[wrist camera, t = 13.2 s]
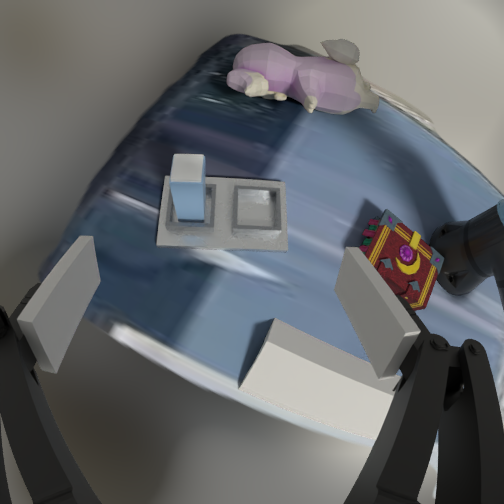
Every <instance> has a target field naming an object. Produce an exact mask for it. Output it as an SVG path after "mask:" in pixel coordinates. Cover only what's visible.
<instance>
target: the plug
mask: <svg viewBox="0 0 504 504" xmlns="http://www.w3.org/2000/svg"><path fill="white" fill-rule="evenodd" d="M169 185H170V189H171V193H172V198H173V202H174V206H175V210H176V214H177V218H178V221H185V222H204V216H205V202H206V185H205V156H204V155H199V154H174V155H173V160H172V167H171V173H170V180H169Z"/></svg>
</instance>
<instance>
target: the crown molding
mask: <svg viewBox="0 0 504 504" xmlns="http://www.w3.org/2000/svg"><path fill="white" fill-rule="evenodd" d="M400 378H401V376H398V375H395V376H394V378H389V379H384V380H379V379H378V377H377V375H376V373H375V371H374V369H373V367H372V364H371V363H369V362H366V361H364V360H362V359H360V358H358V357H355V356H353V355H351V354H349V353H347V352H345V351H342V350H340V349H338V348H336V347H334V346H332V345H330V344H327V343H325V342H323V341H321V340H319V339H317V338H315V337H313V336H311V335H309V334H307V333H304V332H302V331H300V330H298V329H296V328H294V327H292V326H290V325H288V324H286V323H284V322H282V321H280V320H278V319H276V318H274V321H273V323H272V325H271V327H270V329H269V331H268V333H267V335H266V337H265V341H264V343H263V345H262V347H261V349H260V351H259V353H258V355H257V357H256V359H255V361H254V363H253V364H252V366H251V368H250V369H249V371H248V372H247V374H246V376H245V378H244V379H243V381H242V383H241V385H240V387H239V390H241V391H243V392H246V393H248V394H250V395H252V396H254V397H257V398H259V399H261V400H264V401H266V402H268V403H271V404H273V405H275V406H278V407H280V408H283V409H285V410H288V411H290V412H293V413H295V414H298V415H301V416H303V417H306V418H308V419H311V420H314V421H317V422H320V423H322V424H325V425H328V426H331V427H334V428H337V429H340V430H343V431H346V432H349V433H353V434H356V435H359V436H363V437H366V438H370V439H373V440H376V439H377V437H378V435H379V432H380V430H381V428H382V425H383V423H384V420H385V418H386V415H387V413H388V410H389V408H390V405H391V402H392V400H393V397H394V394H395V391H396V390H395V391H392V390H393V389H394V387H395V386H396V384H397V383H398V381H399V380H400Z"/></svg>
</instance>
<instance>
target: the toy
mask: <svg viewBox="0 0 504 504" xmlns="http://www.w3.org/2000/svg"><path fill="white" fill-rule="evenodd" d="M321 44H322V46H323V47H324V48H325V50H326V51H327V53H328V54H329V56H330V57H297V56H294V55H292V54H291V53H290V52H288V51H287V50H285V49H283V48H281V47H280V46H277V45H275V44H272V43H262V44H253V45H250V46H248V47H245V48H243V49H242V50H241V51H240V52H239V53H238V54H237V55H236V57H235V59H234V63H233V70H232V71H231V72H229V73H228V75H227V84H228V86H229V87H231V88H233V89H234V90H237V91H239V92H242V93H245V94H246V95H247V96H250V97H254V96H262V97H263V98H265V99H276V100H286V98H287V97H291V98H293V99H295V100H297V101H299V102H301V103H302V105H303V106H304V108H305V109H306V110H307V111H308V112H309V113H312V112H313V110H314V109H316V110H319V111H323V112H326V113H330V114H342V115H344V114H346V113H349V112H352V111H353V110H355V109H358V108H365V109H371V111H372V112H373V113H375V112H376V110H377V108H378V105H379V96H378V95H376V94H374V93H372V92H370V84H369V83H367V82H365V81H363V79H362V76H361V73H360V70H359V68H358V67H357V66H356V65H355V63H357V62H358V61H359V49H358V47H357V46H356V45H355V44H354V43H352V42H350V41H347V40H345V39H339V40H327V41H323V42H321Z"/></svg>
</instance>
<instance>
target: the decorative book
mask: <svg viewBox="0 0 504 504" xmlns="http://www.w3.org/2000/svg"><path fill="white" fill-rule="evenodd" d="M368 224H369V225H370V227H369V229H368V230H367V229H365V230H364V232H363V234H362V235H364V236H367V238H365V240H364V242H363V245H362V246H360V247H359V249H360V250H361V251H362V253H363V254H364V255H365V256H366V258H367V259H368V260H369V261H370V263H371V264H372V265H373V266H374V268H375V269H376V270H377V272H378V273H379V274H380V276H381V277H382V278H383V280H384V281H385V282H386V283H387V285H388V286H389V287H390V289H391V290H392V291H393V293H394V294H395V295H400V296H401V297H402V298H404V299H405V300H406V301H407V302H408V303H409V305H410V306H411V307H412V310H414V311H416V310H421V309H425V308H426V306H427V303H428V300H429V298H430V295H431V292H432V290H433V287H434V284H435V281H436V278H437V276H438V275H439V273H440V270H441V267H442V264H443V261H444V257H443V256H442V255H440V254H439V253H438V252H437V251H436V250H435V249H434V248H433V247H431V246H429V245H427V244H426V243H425V242H424V241H423V240H422V239H421V235H419V234H418V233H417V232H416V231H414V232H412V231H411V230H410V229H409V228H408V227H407V226H405V225H404V224H403V223H402V221H401V220H400V219H399V218H398V217H396V216H395V215H394V214H393V213H391V212H390V211H389V210H388V209H386V210H385V211H384V213H383V215H382V217H381V219H380V218H379V217H378V216H377V217H376V218H375V220H374V219H370V221H369V223H368Z"/></svg>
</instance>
